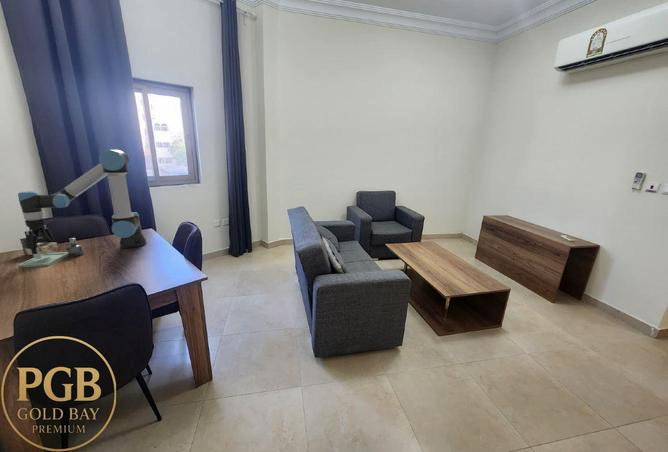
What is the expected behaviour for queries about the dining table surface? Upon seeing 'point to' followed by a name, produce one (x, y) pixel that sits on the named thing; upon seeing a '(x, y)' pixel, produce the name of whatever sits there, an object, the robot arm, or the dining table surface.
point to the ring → (44, 248)
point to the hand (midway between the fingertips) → (44, 255)
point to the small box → (23, 242)
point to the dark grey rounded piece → (74, 248)
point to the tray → (44, 260)
